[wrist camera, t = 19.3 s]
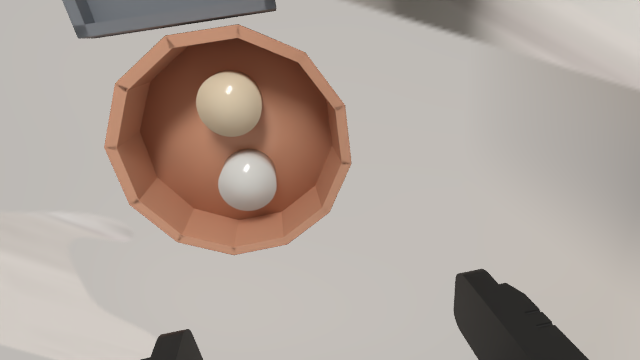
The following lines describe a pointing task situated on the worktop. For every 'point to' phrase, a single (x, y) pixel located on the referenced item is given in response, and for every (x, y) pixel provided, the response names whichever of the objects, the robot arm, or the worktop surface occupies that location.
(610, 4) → the worktop surface
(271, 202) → the bowl
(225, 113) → the sandstone pebble
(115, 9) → the tray
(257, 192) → the white pebble
